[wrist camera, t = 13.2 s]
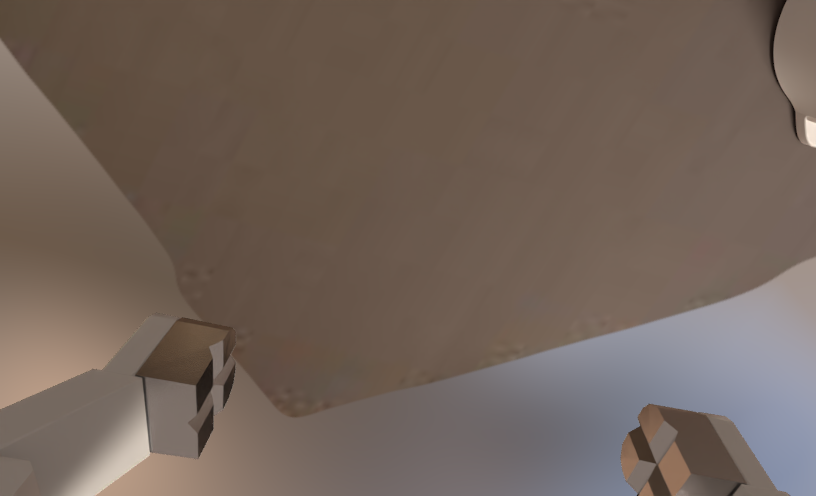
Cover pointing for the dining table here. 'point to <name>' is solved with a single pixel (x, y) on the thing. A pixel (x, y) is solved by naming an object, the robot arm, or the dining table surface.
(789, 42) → the robot arm
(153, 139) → the dining table surface
